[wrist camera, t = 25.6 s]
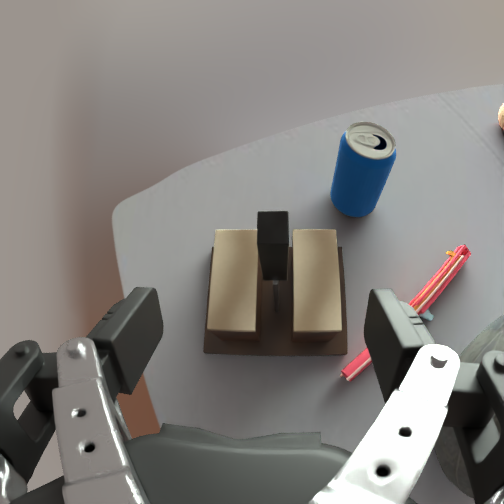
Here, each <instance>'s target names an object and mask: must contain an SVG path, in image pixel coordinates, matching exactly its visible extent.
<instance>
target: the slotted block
mask: <svg viewBox="0 0 504 504" xmlns="http://www.w3.org/2000/svg"><path fill="white" fill-rule="evenodd" d="M203 352H204V353H208V354H226V355H251V356H329V355H346V354H347V318H346V297H345V280H344V266H343V253H342V247H337V238H336V230H334V229H293V236H292V247H289V255H288V277H287V281H279V312H275V304H274V293H273V281H264V280H263V277H262V271H261V266H260V260H259V254H258V248H257V230H216V232H215V242H214V247H212V254H211V264H210V275H209V286H208V298H207V310H206V323H205V336H204V351H203Z"/></svg>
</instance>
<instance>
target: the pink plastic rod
mask: <svg viewBox="0 0 504 504" xmlns="http://www.w3.org/2000/svg"><path fill="white" fill-rule="evenodd" d="M458 250H459V251H458ZM457 251H458V252H457ZM456 252H457V254H456ZM446 254H449V255H450V257H449V258H448V259H447V261H446V262H445V263H444V264H443V265H442V267H441V268H440V269H439V270H438V271H437V273H436V274H435V275H434V276H433V277H432V279H431V280H430V281H429V282H428V283H427V284H426V285H425V287H424V288H423V289H422V290H421V291H420V292H419V293H418V294H417V296H416V297H415V298H414V299H413V300H412V301H411V302H410V303H409V305H410V306H411V305H412V306H411V307H413V308H414V310H415V311H416V313H417V314H418V315H419V316H421V318H426V319H427V320H428V321H431V320H432V319H433V317H434V315H432V314H431V313H430V312H429V309H428V308H429V307H430V305H431V304H432V303H433V302H434V301H435V300H436V298H437V297H438V296H439V295H440V294H441V292H442V291H443V290H444V289H445V287H446V286H447V285H448V284H449V282H450V281H451V280H452V279H453V277H454V276H455V275H456V273H457V272H458V271H459V269H460V268H461V267H462V266H463V264H464V263H465V261H466V260H467V259H468V257H469V256H470V255H471V253H470V251H469V250H468V248H467V247H466V245H462V246H458V247H457V248H456V249H455V251H454V252H453V251H447V252H446ZM449 261H450V262H449ZM448 262H449V263H448ZM445 266H446V267H445ZM444 267H445V268H444ZM440 272H441V273H440ZM439 273H440V274H439ZM435 278H436V279H435ZM434 279H435V280H434ZM433 280H434V281H433ZM429 285H430V286H429ZM428 286H429V287H428ZM427 287H428V288H427ZM426 288H427V289H426ZM421 294H422V295H421ZM420 295H421V296H420ZM419 296H420V297H419ZM418 297H419V298H418ZM371 362H372V360H371V357H370V354H369V351H368V348H366V349H365V350H364V351H363V352H362V353H361V354H360V355H358V356H357V357H356V358H355V359H354V360H353V361H352V362H351V363H350V364H348V365H347V366H346V367H345V368H344V369H343V370H342V371H341V372H342V374H341V375H340V377H343V376H345V377H346V380H347V381H350V382H351V381H352V380H353V379H354V378H355V377H356V376H357V375H359V374H360V373H361V372H362V371H363V370H364V369H365V368H366V367H367V366H368V365H369V364H370V363H371Z"/></svg>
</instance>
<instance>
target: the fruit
mask: <svg viewBox="0 0 504 504" xmlns="http://www.w3.org/2000/svg"><path fill="white" fill-rule="evenodd" d="M498 121H499V125H500V127H501V128H502V129H503V130H504V104H503V105H502V106H501V107H500V109H499V113H498Z"/></svg>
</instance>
